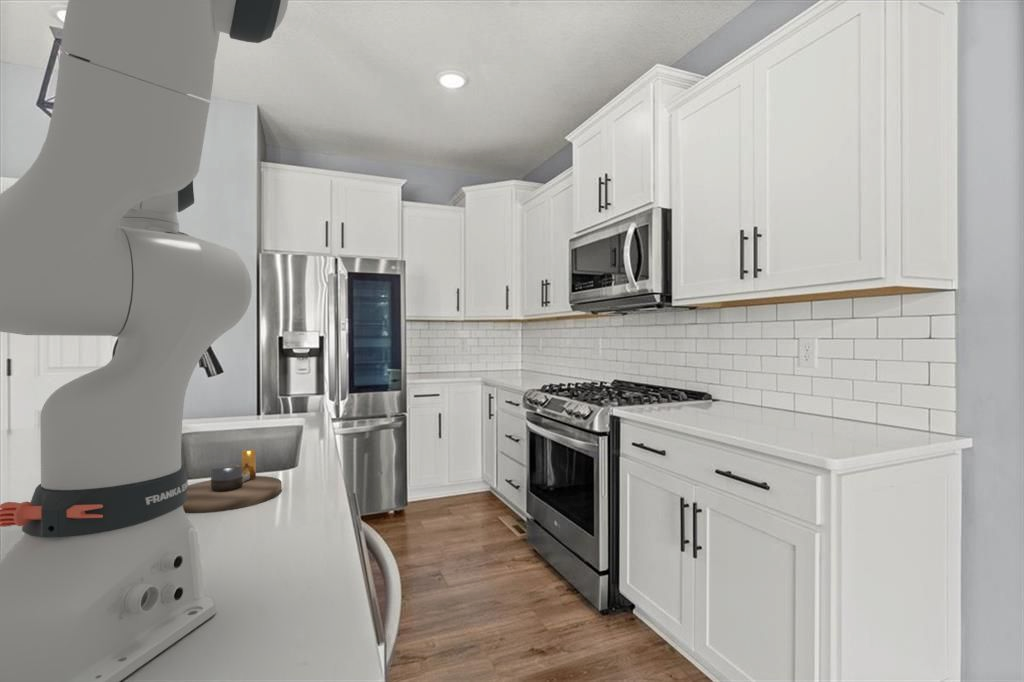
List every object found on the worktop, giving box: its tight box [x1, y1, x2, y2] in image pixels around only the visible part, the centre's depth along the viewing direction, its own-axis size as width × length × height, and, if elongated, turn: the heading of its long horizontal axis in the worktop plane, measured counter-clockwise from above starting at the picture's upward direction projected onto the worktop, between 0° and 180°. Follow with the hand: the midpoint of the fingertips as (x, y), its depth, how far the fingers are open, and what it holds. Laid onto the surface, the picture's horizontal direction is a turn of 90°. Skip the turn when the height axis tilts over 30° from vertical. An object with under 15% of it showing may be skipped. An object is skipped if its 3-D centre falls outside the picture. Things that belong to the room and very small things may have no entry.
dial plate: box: [183, 475, 283, 514], centre depth 94 cm, size 18×18×2 cm
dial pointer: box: [210, 448, 257, 491], centre depth 97 cm, size 10×5×5 cm, turn 174°
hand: (148, 323), depth 87 cm, fingers closed
